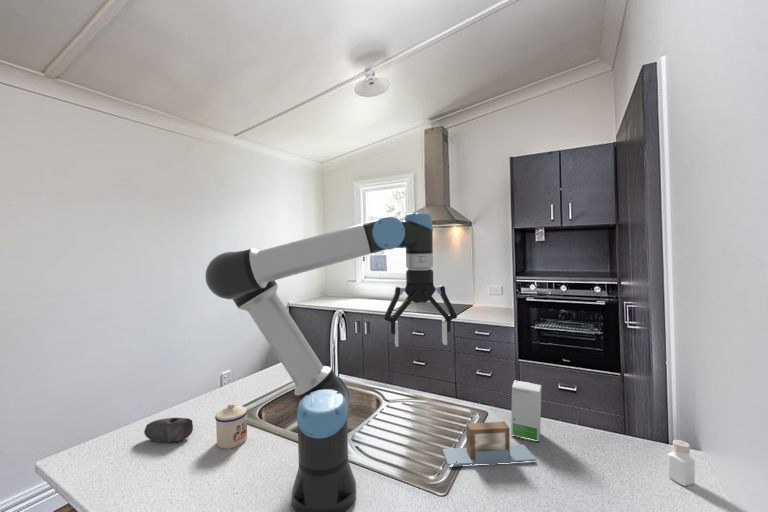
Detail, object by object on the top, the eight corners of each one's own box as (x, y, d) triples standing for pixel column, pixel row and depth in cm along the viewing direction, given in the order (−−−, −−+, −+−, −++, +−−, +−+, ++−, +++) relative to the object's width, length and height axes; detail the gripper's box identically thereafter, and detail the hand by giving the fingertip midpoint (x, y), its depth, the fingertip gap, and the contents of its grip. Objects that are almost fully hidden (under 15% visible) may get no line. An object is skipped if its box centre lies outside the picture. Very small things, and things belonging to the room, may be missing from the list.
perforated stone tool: (138, 444, 109) (137, 421, 108) (151, 434, 114) (151, 413, 114) (183, 446, 107) (183, 423, 107) (195, 436, 112) (194, 415, 112)
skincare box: (510, 436, 109) (510, 386, 108) (513, 426, 114) (513, 379, 114) (540, 443, 105) (539, 391, 104) (541, 432, 111) (541, 383, 110)
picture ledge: (448, 467, 94) (448, 445, 94) (442, 452, 101) (442, 431, 101) (535, 462, 95) (535, 441, 95) (524, 448, 102) (523, 427, 102)
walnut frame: (470, 459, 96) (470, 430, 96) (466, 451, 100) (466, 423, 99) (509, 457, 97) (509, 428, 96) (504, 449, 100) (504, 421, 100)
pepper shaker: (684, 487, 85) (684, 449, 85) (666, 477, 89) (666, 440, 88) (695, 484, 86) (696, 446, 86) (678, 474, 90) (678, 437, 89)
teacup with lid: (237, 450, 104) (236, 411, 103) (209, 448, 105) (208, 410, 105) (257, 429, 116) (256, 394, 115) (232, 427, 117) (231, 393, 117)
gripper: (375, 270, 94) (376, 349, 94) (467, 268, 95) (468, 346, 96) (374, 269, 101) (375, 342, 102) (460, 267, 103) (460, 339, 103)
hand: (420, 344), depth 99 cm, fingers open, 13 cm apart
